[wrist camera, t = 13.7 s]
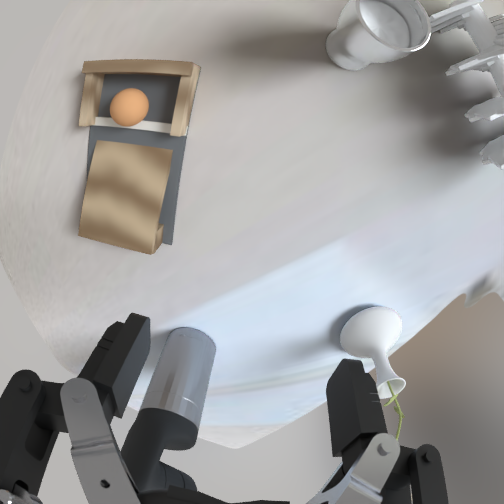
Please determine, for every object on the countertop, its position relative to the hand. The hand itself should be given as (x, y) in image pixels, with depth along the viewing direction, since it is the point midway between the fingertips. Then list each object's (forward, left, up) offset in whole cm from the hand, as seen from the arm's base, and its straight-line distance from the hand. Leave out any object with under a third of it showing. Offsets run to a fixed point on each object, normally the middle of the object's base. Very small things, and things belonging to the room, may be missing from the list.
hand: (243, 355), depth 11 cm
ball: (+7, +19, -25) cm, 32 cm away
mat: (0, +19, -28) cm, 34 cm away
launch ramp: (-5, +19, -28) cm, 34 cm away
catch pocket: (+9, +19, -28) cm, 35 cm away
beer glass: (+20, -6, -28) cm, 35 cm away
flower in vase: (-20, -24, -28) cm, 42 cm away
